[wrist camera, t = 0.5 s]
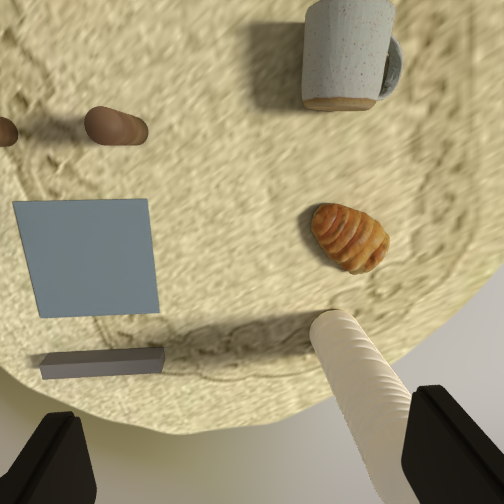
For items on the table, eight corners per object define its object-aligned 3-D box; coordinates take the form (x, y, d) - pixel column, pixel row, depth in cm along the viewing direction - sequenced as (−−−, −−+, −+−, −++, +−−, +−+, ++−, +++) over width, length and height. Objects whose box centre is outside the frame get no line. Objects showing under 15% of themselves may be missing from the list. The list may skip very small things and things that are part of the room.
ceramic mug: (292, 112, 34) (312, 104, 27) (297, 22, 32) (320, -15, 24) (388, 115, 35) (432, 107, 28) (400, 27, 33) (452, -7, 25)
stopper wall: (50, 352, 41) (39, 365, 38) (163, 346, 42) (159, 359, 39) (53, 366, 41) (42, 379, 39) (164, 360, 42) (161, 372, 40)
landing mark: (14, 201, 35) (12, 201, 35) (147, 198, 36) (146, 199, 36) (41, 317, 39) (40, 318, 39) (159, 312, 40) (159, 312, 40)
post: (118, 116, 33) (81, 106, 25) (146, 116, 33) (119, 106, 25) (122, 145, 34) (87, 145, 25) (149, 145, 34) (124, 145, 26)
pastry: (295, 233, 39) (302, 241, 35) (331, 186, 37) (342, 190, 34) (353, 274, 41) (365, 286, 37) (389, 231, 40) (405, 240, 36)
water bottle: (355, 304, 42) (524, 510, 18) (357, 347, 44) (511, 581, 20) (289, 315, 42) (372, 539, 18) (294, 358, 44) (375, 608, 20)
